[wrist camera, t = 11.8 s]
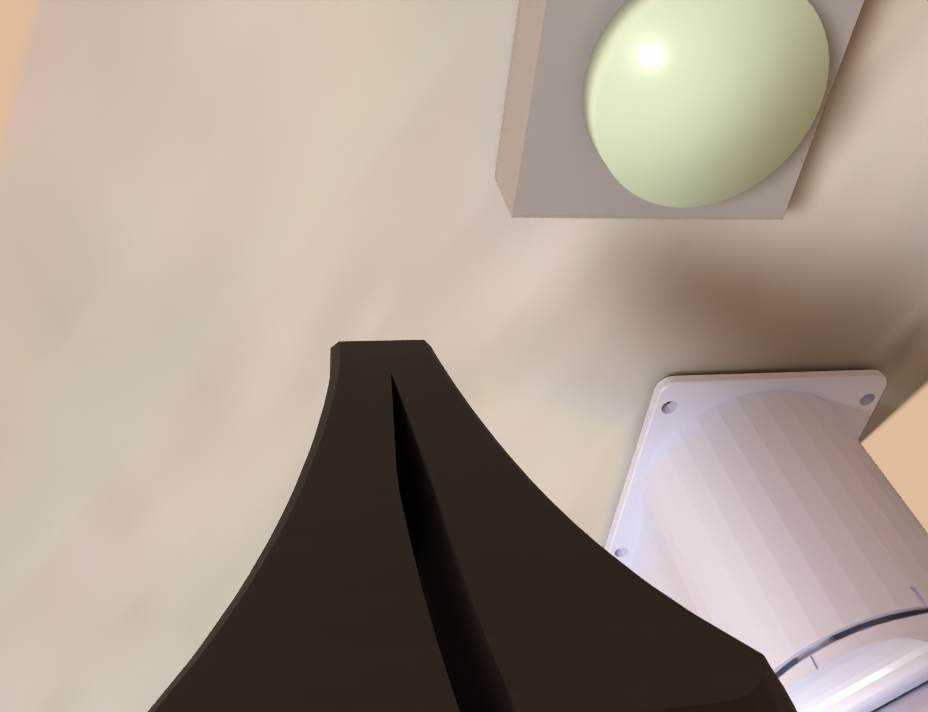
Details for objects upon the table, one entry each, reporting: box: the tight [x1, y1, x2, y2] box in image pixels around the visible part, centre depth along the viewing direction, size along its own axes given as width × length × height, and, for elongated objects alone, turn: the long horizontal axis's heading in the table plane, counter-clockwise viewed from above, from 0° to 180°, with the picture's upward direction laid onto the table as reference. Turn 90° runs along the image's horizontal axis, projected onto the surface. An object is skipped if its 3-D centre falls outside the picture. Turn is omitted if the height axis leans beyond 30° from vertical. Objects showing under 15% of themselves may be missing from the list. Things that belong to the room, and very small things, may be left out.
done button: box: [582, 0, 829, 208], centre depth 19 cm, size 5×5×3 cm
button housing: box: [495, 0, 864, 220], centre depth 20 cm, size 7×7×2 cm
